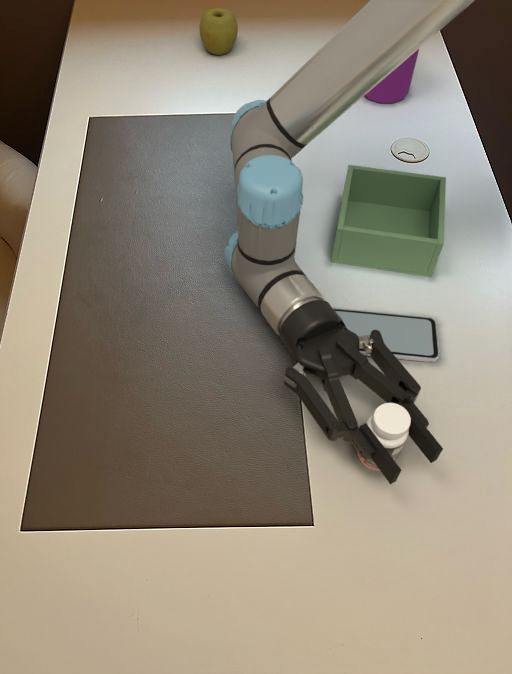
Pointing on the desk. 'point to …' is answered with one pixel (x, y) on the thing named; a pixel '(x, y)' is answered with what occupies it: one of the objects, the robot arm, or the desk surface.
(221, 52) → the apple
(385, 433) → the pill bottle
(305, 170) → the desk surface
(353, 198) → the open storage box
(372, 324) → the smartphone
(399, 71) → the mug
